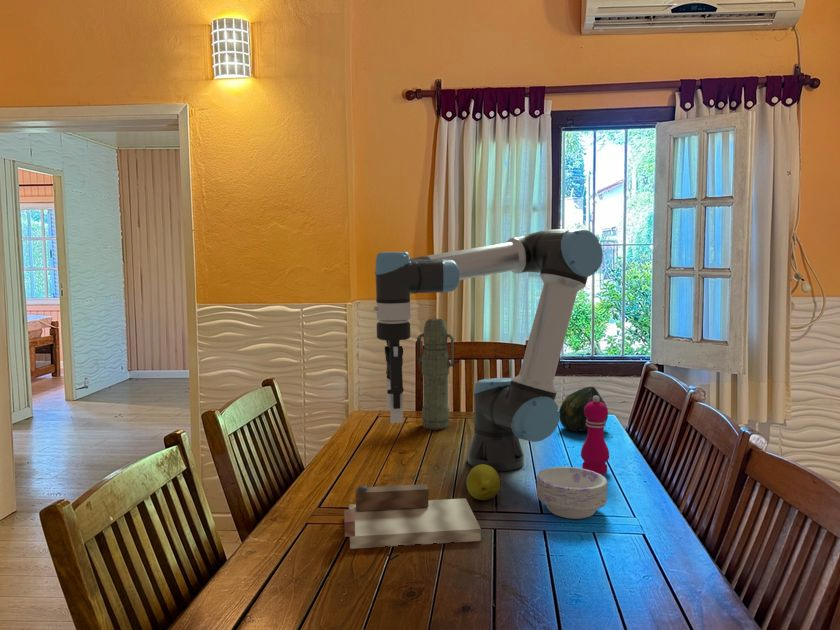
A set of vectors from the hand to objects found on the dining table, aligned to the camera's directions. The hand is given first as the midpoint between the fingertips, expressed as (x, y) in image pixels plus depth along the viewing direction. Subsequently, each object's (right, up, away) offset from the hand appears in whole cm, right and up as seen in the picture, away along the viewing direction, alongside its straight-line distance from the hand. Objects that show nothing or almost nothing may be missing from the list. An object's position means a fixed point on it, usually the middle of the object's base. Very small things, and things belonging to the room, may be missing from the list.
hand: (394, 414), depth 149 cm
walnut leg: (0, -19, -7) cm, 20 cm away
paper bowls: (+39, -21, -3) cm, 45 cm away
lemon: (+20, -21, +4) cm, 29 cm away
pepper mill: (+51, -18, +23) cm, 59 cm away
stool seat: (+4, -22, -11) cm, 25 cm away
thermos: (+11, -14, +66) cm, 68 cm away
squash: (+58, -14, +61) cm, 85 cm away
